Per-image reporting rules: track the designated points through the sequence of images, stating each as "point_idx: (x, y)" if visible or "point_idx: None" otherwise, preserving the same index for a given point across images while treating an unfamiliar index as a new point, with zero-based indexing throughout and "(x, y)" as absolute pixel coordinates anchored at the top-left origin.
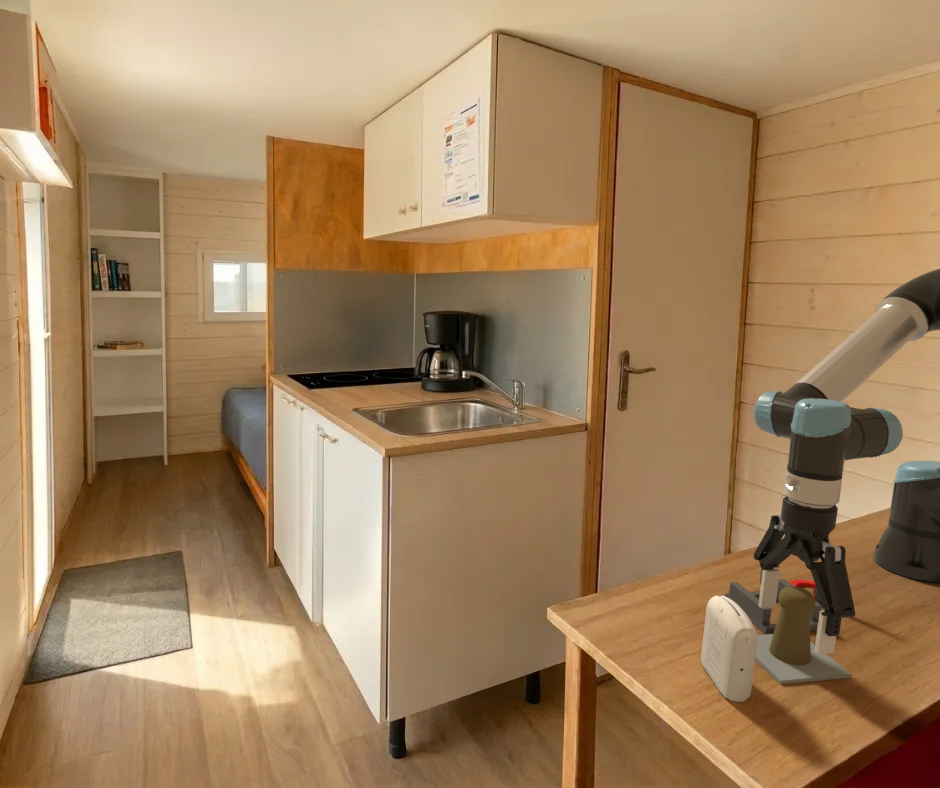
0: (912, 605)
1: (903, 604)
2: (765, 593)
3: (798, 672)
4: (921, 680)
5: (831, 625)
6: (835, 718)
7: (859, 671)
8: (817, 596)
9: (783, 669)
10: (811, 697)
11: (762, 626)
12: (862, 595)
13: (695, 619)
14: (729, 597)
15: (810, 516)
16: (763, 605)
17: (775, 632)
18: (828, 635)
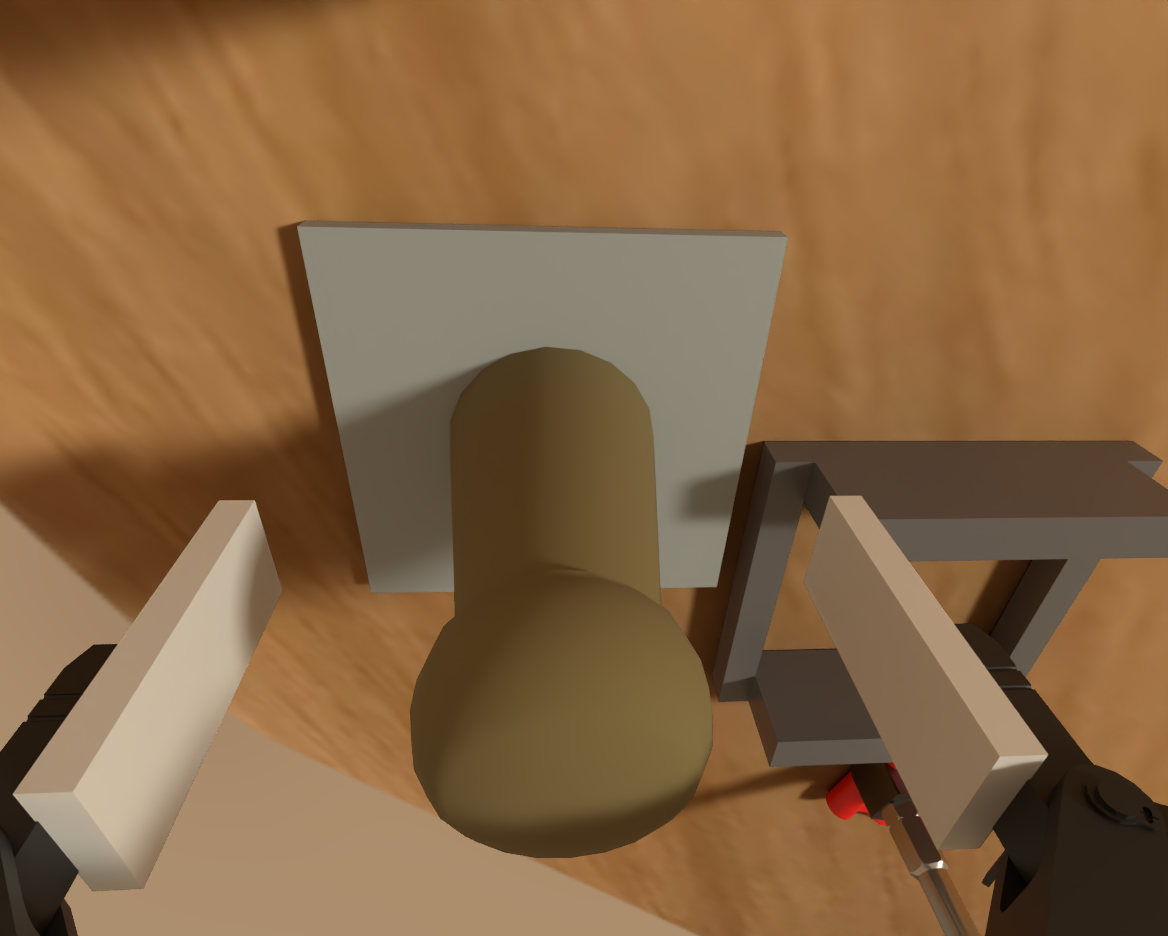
0: (745, 921)
1: (758, 910)
2: (873, 592)
3: (384, 382)
4: (359, 758)
5: (14, 737)
6: (11, 323)
7: (419, 631)
8: (886, 777)
9: (413, 318)
10: (193, 319)
11: (805, 459)
12: (847, 865)
13: (1094, 109)
14: (1117, 460)
15: None
16: (833, 521)
17: (590, 430)
18: (100, 646)
